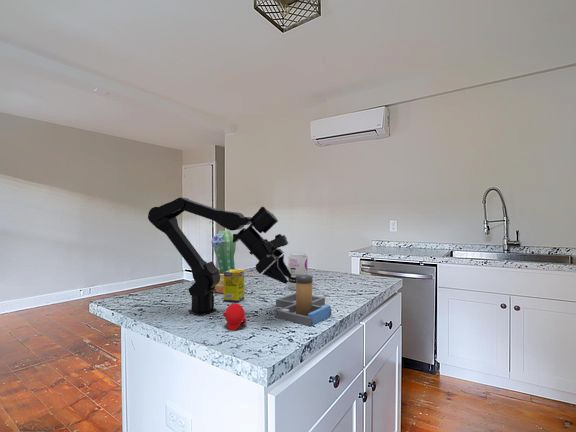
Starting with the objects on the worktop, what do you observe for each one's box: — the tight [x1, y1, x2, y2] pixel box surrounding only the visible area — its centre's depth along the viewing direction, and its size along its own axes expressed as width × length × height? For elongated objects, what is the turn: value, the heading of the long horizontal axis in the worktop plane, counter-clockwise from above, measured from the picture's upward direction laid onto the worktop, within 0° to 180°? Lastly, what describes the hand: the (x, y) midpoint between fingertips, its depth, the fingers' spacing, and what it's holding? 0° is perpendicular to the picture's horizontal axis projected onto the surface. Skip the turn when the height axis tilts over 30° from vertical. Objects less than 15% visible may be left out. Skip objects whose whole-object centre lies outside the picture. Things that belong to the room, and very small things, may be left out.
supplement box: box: [223, 269, 245, 304], centre depth 116 cm, size 6×6×11 cm
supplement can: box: [287, 252, 308, 291], centre depth 136 cm, size 8×8×15 cm
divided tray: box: [275, 292, 332, 327], centre depth 104 cm, size 22×20×3 cm
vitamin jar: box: [295, 274, 313, 316], centre depth 98 cm, size 5×5×13 cm
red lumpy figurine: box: [223, 302, 247, 332], centre depth 89 cm, size 8×6×6 cm
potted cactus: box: [211, 230, 243, 294], centre depth 132 cm, size 15×15×25 cm
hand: (288, 279), depth 98 cm, fingers open, 9 cm apart
